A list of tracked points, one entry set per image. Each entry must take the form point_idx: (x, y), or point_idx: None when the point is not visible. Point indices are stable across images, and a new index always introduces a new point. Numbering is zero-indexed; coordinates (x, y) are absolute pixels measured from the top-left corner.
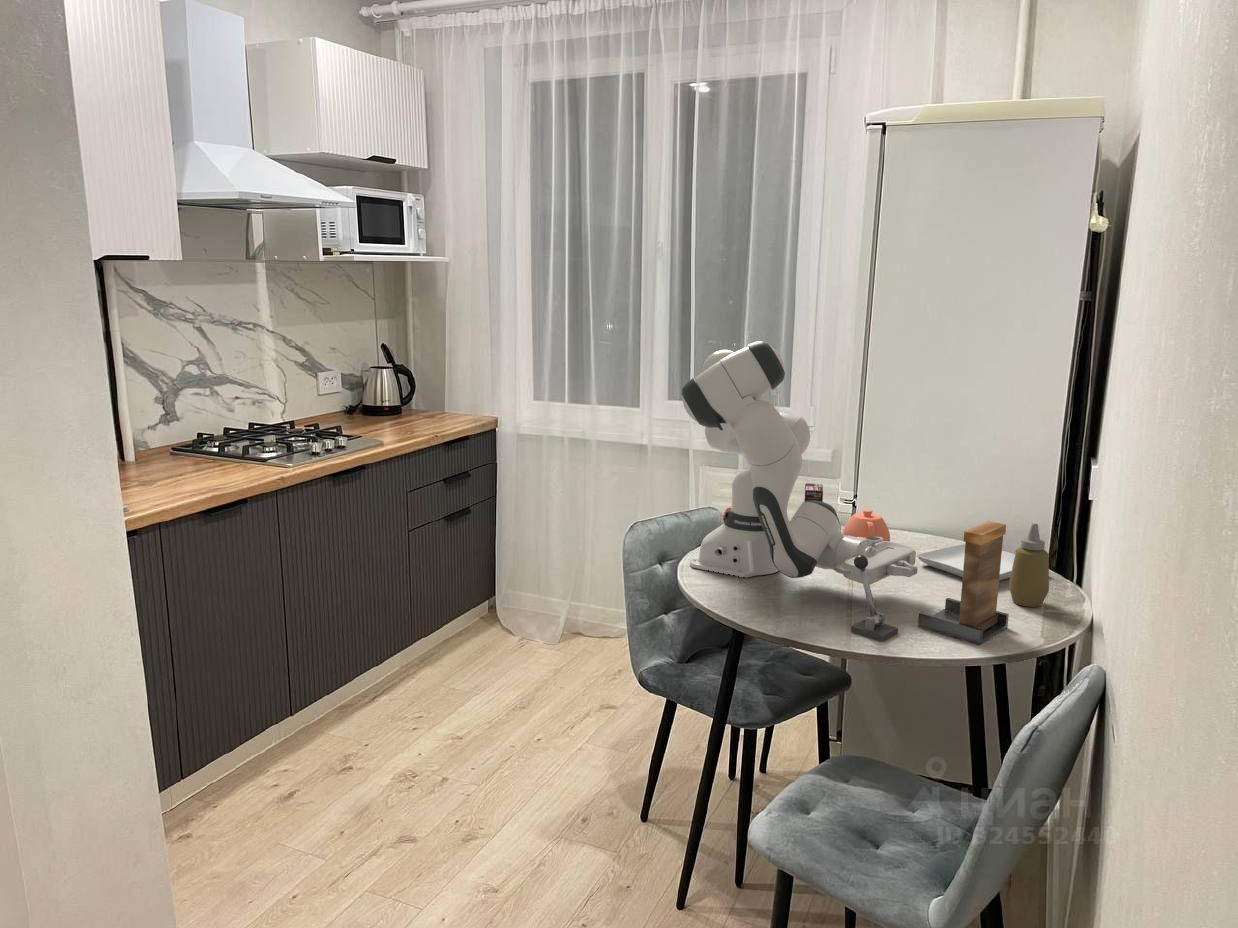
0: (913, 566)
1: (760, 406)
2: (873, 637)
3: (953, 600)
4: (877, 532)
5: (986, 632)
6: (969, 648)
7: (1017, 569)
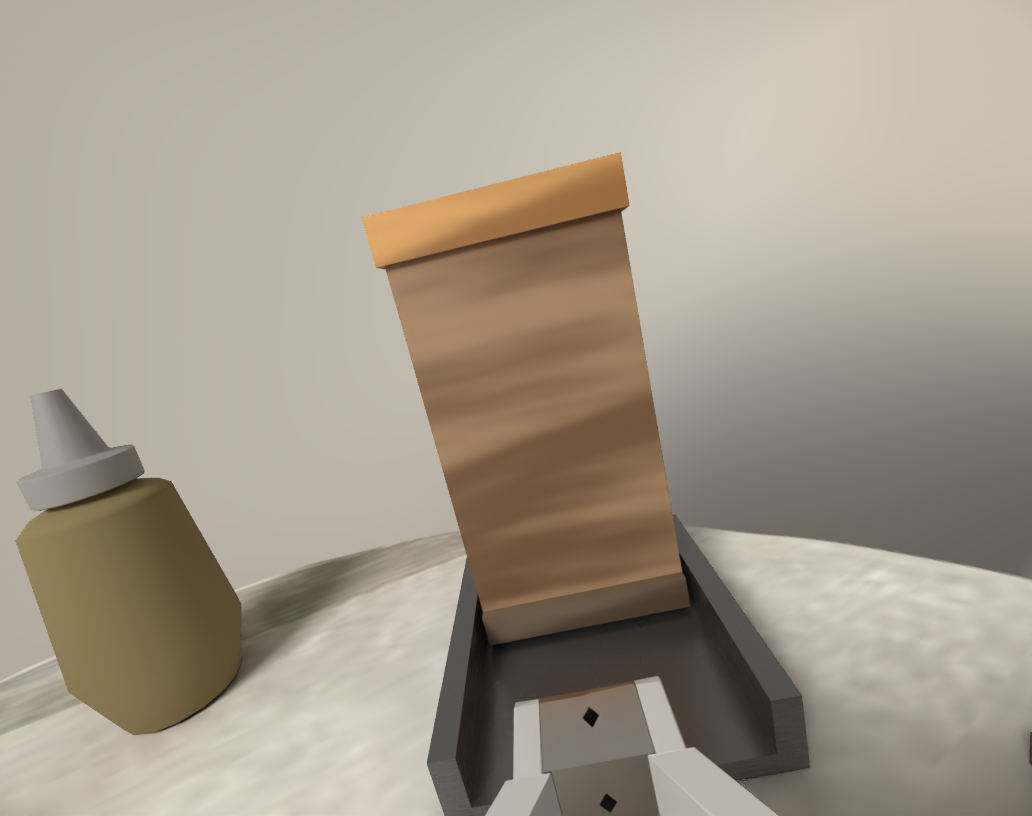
0: (544, 714)
1: None
2: None
3: (455, 718)
4: None
5: None
6: (734, 556)
7: (164, 571)
